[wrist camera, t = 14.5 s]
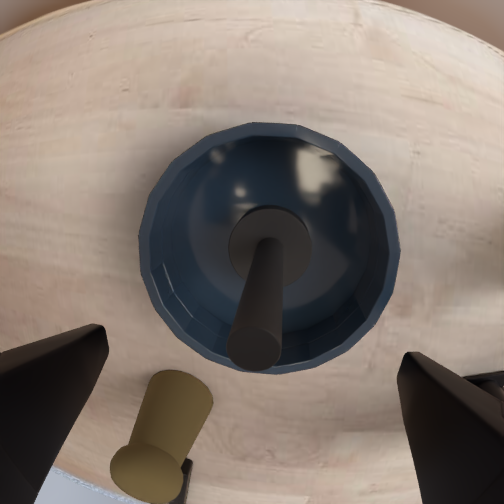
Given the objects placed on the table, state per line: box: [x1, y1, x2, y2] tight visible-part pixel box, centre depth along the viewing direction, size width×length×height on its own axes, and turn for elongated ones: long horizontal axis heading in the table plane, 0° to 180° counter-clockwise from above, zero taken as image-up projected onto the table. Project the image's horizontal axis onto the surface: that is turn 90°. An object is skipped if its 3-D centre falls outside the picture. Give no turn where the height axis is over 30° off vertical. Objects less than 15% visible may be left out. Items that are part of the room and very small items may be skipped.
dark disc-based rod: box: [226, 205, 312, 371], centre depth 15 cm, size 5×5×12 cm
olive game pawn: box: [110, 370, 213, 504], centre depth 20 cm, size 6×6×11 cm
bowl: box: [138, 122, 401, 375], centre depth 19 cm, size 14×14×4 cm
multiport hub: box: [151, 458, 193, 504], centre depth 29 cm, size 4×14×2 cm, turn 168°
